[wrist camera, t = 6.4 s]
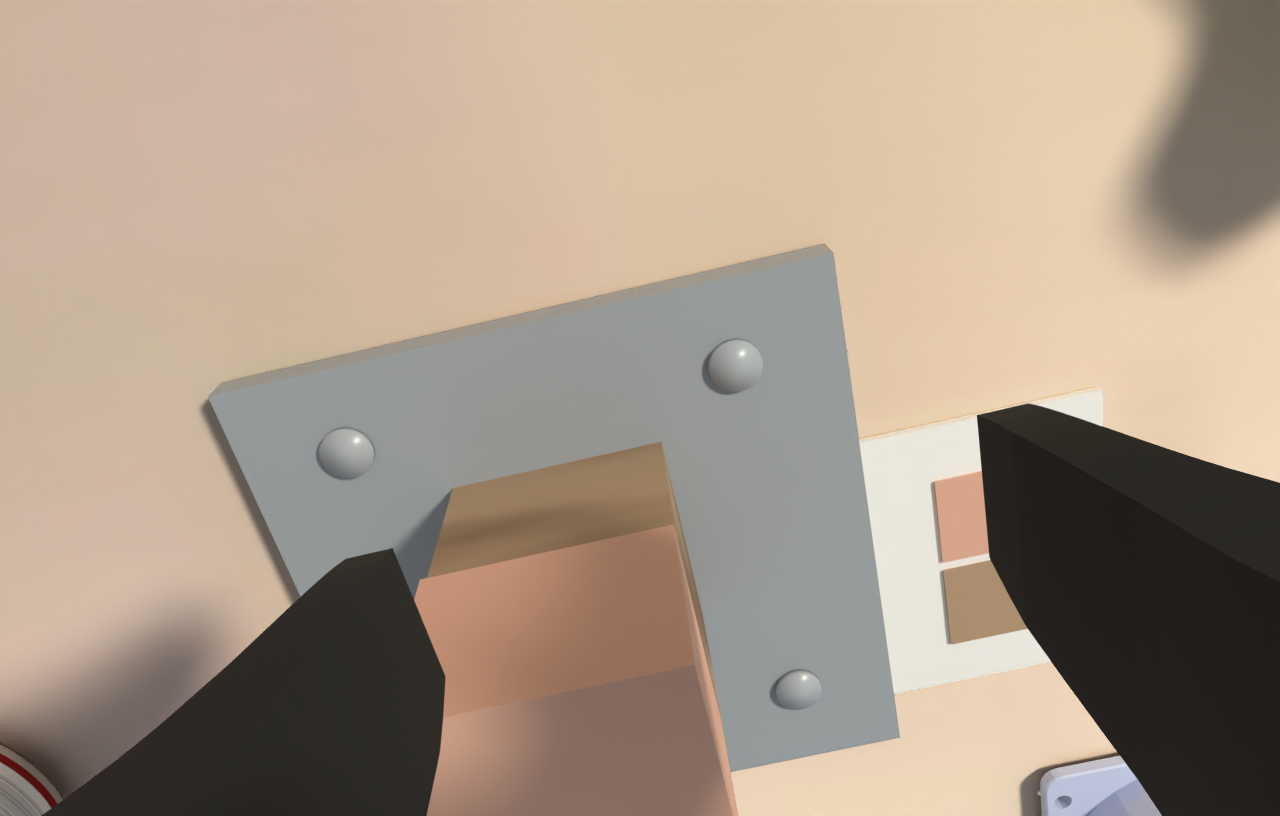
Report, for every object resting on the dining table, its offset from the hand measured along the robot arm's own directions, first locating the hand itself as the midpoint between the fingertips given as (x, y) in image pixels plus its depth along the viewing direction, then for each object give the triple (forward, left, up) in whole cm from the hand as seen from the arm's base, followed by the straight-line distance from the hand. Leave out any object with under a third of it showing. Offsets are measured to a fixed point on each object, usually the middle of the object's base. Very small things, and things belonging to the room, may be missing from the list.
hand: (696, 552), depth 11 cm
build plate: (-7, +3, -10) cm, 13 cm away
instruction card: (-9, -7, -10) cm, 15 cm away
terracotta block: (-5, +3, -6) cm, 8 cm away
